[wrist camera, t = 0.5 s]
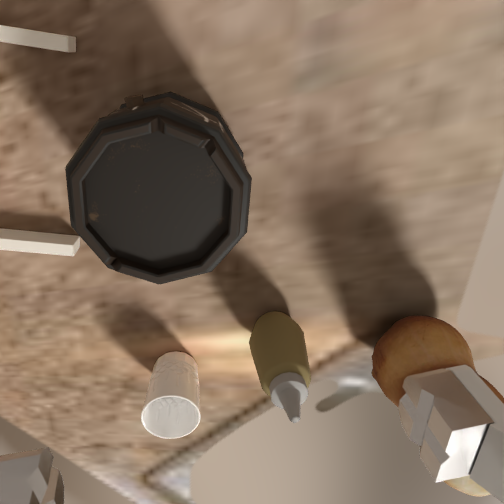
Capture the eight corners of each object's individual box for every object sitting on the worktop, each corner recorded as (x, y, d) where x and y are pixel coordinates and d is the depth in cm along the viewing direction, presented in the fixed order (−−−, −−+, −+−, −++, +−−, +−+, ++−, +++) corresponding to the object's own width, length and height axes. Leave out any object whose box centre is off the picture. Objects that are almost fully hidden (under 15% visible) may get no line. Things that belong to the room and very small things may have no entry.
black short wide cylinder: (222, 68, 49) (228, 76, 35) (257, 211, 57) (273, 265, 42) (71, 107, 49) (15, 131, 35) (126, 244, 57) (99, 309, 43)
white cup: (187, 393, 69) (184, 445, 60) (142, 377, 67) (131, 428, 58) (210, 358, 66) (210, 406, 57) (163, 340, 64) (155, 388, 55)
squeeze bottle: (271, 356, 67) (291, 454, 51) (235, 327, 64) (245, 420, 48) (310, 325, 65) (343, 416, 49) (276, 294, 62) (299, 380, 46)
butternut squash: (418, 283, 64) (532, 410, 41) (459, 335, 69) (580, 474, 46) (343, 335, 67) (412, 481, 44) (388, 382, 72) (469, 534, 49)
